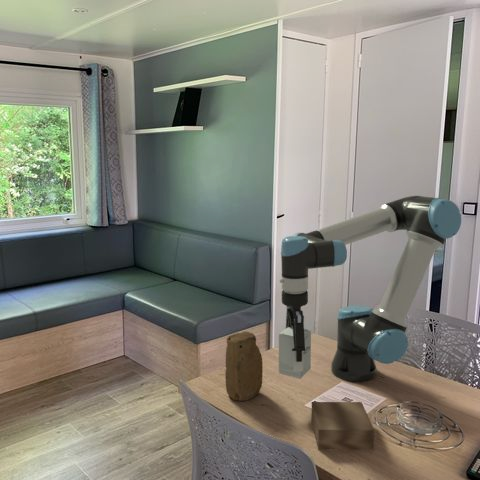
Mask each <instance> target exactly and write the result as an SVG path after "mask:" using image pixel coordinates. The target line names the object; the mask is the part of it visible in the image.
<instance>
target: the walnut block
mask: <svg viewBox="0 0 480 480" xmlns="http://www.w3.org/2000/svg"><path fill="white" fill-rule="evenodd" d="M310 415H311V418H310V419H311V425H312V429H313V433H314V437H315V442H316V447H317V450H318V451H374V445H375V444H374V442H375V429H374V427H373V425H372V422H371V420H370V417H369V416H368V413H367V411H366V409H365V406H364V404H363V402H362V401H311V414H310Z"/></svg>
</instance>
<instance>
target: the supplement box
mask: <svg viewBox="0 0 480 480" xmlns="http://www.w3.org/2000/svg"><path fill="white" fill-rule="evenodd" d="M304 339H305V351H303V371H299V372H294V371H293V351H292V349H294V339H293V328H292V327H288V328H286V327H285V328H284V329H283V330H282V331H281V332H279V333H278V374H279V375H282V376H283V375H284V376H286V377H291V378H293V379H294V378H295V379H298V380H299V379H300V380H301V379H302V378H303V377H304V376H305V375H306V374H308V372H309V371H310V370H311V359H312V354H311V353H312V352H311V351H312V349H311V347H312V330H311V329H307V328H304Z"/></svg>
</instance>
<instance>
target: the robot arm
mask: <svg viewBox="0 0 480 480" xmlns="http://www.w3.org/2000/svg"><path fill="white" fill-rule="evenodd" d="M460 211H461V210H460V208H459V206H458V205H457V204H456V203H455V202H454V201H452V200H450V199H445V198H442V197H430V196H422V195H410V196H405V197H402V198H399V199H396V200H393V201H391V202H386V203H384V204H381V205H380V206H379V208H378V209H376V210H372V211H370V212H367V213H364V214H360V215H358V216H355V217H351V218H349V219H346V220H344V221H343V220H342V221H340V222H337V223H334V224H332V225H331V224H330V225H329V226H326V227H322V228H320V229H316V230H313V231H312V230H311V231H310V232H306V233H304V232H295V233H294V234H292V235H289V236H286V237H284V238H282V241H281V246H280V247H281V248H280V251H281V252H280V256H281V261H280V262H281V278H282V279H279V283H280V284H281V289H282V291H281V302H282V304H283V305H284V306H286V317H285V318H286V319H285V329H286V328H288V327H292V328H293V339H294V349H292V351H293V371H294V372H299V371H303V351H305V339H304V329H305V326H304V322H305V316H304V311H303V310H302V308H301V307H303V306H306V305H307V304H308V303H309V302H308V301H309V291H308V290H309V269H311V270H312V269H318V268H319V269H320V268H322V269H323V268H329V267H336V266H342V265H343V264H345V263H346V261H347V258H348V250H347V246H346V245H349V244H352V243H355V242H358V241H361V240H365V239H366V238H369V237H372V236H374V235H378V234H381V233H384V232H388V233H393V232H396V231H402V230H403V231H406V235H407V238H408V239H407V242H406V244H405V247H404V249H403V252H402V254H401V255H400V258H399V260H398V263H397V265H396V267H395V270H394V272H393V274H392V276H391V279H390V280H389V283H388V286H387V288H386V290H385V292H384V295H383V297H382V299H381V302H380V303H379V306H378V308H376V309H374V308H372V307H370V306H365V305H349V306H344V307H342V308H340V309H339V310H338V314H337V343H336V346H337V347H336V351H335V354H334V356H333V358H332V361H331V366H330V367H331V369H330V370H331V373H332V374H333V375H334V376H336V377H337V378H340V379H342V380H346V381H350V382H366V381H370V380H373V379H374V378H375V377H376V376H377V366H376V365H377V364H376V362H378V363H380V364H384V365H388V364H389V365H390V364H393V363H394V362H398V361H399V360H400V359H401V358H402V357H404V355H405V354H406V352H407V351H408V348H409V341H408V340H409V338H408V336H407V334H406V331H407V329H408V324H407V322H406V319H407V316H408V314H409V312H410V310H411V307H412V305H413V302H414V300H415V297H416V295H417V294H418V290H419V289H420V286H421V284H422V281H423V279H424V277H425V275H426V272H427V270H428V268H429V266H430V263H431V261H432V259H433V257H434V254H435V252H436V250H437V249H439V248H441V247H444V245H445V242H446V240H447V239H450V238H453V237H454V236H456V235H457V234H458V233H459V230H461V229H460V228H461V225H462V214H461V212H460Z"/></svg>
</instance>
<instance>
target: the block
mask: <svg viewBox="0 0 480 480" xmlns="http://www.w3.org/2000/svg"><path fill="white" fill-rule="evenodd" d="M226 344H227V345H226V350H225V372H224V373H225V375H224V376H225V388H226V393H227V394H228V396H229V397H230V398H231V399H232V400H233V401H238V402H239V401H240V402H241V401H243V402H244V401H249V400H251V399H252V398H254V397H256V396H257V395H259V392H260V390H261V388H262V387H263V371H264V370H263V366H264V365H263V355H262V353H261V351H260V348H259V346H258V345H257V337H256V335H255V334H254V333H253V332H250V331H249V332H248V331H242V332H236V333H233V334H231V335H228V336H227V338H226Z"/></svg>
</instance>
